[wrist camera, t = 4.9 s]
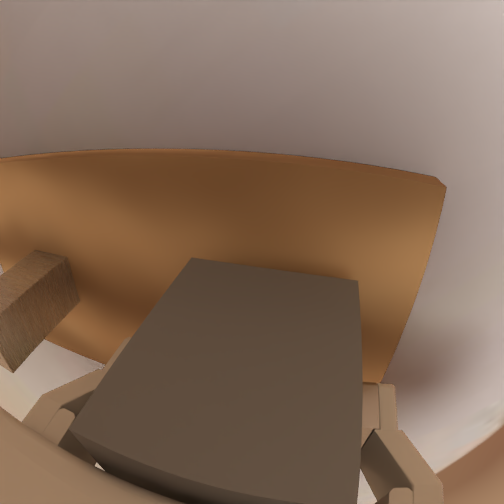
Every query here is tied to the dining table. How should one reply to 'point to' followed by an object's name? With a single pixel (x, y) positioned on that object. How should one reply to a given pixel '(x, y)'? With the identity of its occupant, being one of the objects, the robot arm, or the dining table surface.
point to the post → (33, 304)
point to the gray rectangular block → (237, 391)
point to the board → (217, 231)
